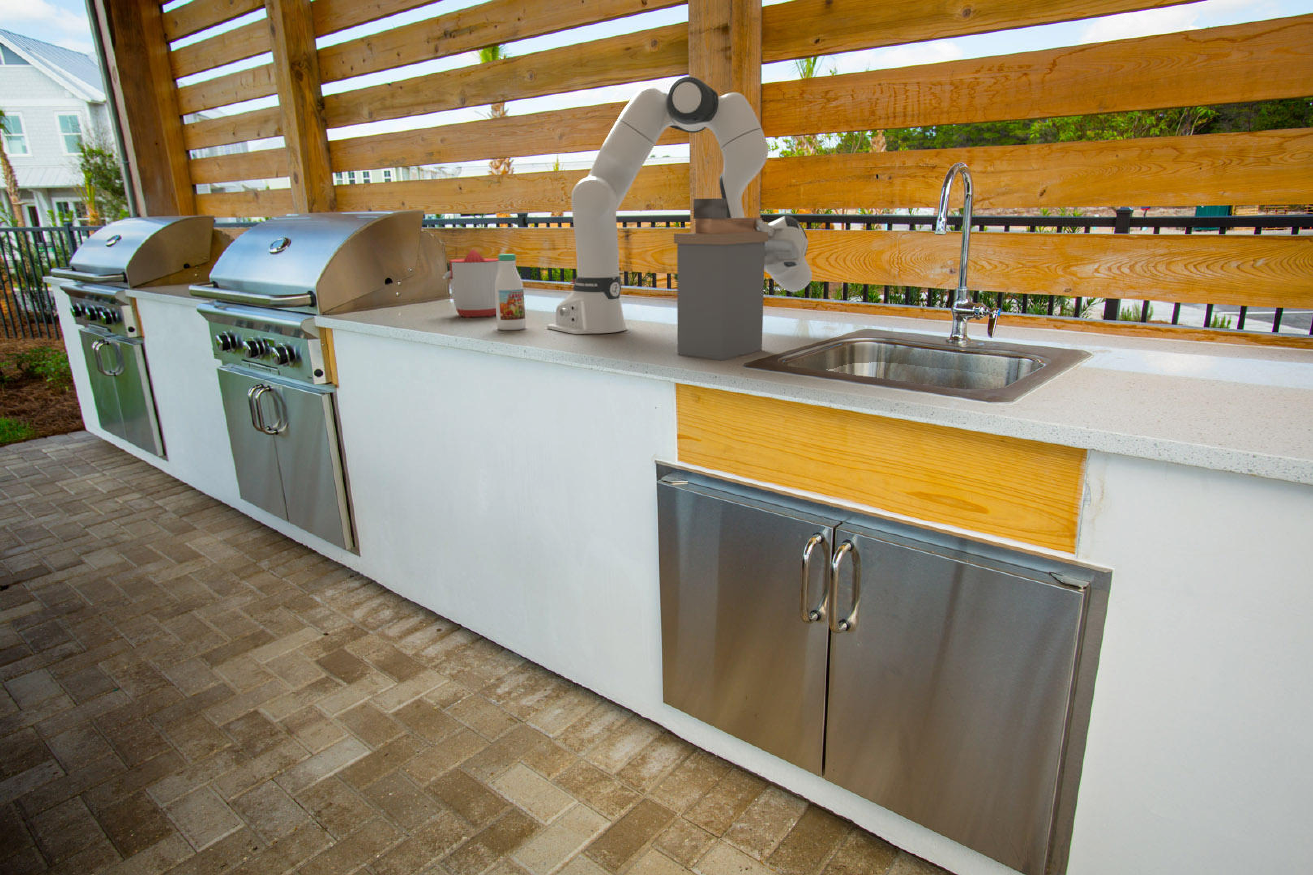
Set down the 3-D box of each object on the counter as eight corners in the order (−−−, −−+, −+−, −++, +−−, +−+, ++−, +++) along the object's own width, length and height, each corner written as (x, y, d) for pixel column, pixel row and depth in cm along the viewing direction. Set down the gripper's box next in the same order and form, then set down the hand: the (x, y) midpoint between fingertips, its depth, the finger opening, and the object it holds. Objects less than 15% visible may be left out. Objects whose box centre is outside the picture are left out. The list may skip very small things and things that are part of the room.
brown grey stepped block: (693, 233, 161) (693, 199, 159) (744, 231, 176) (745, 199, 174) (712, 234, 158) (713, 198, 156) (763, 231, 173) (764, 199, 171)
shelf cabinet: (674, 354, 170) (674, 233, 163) (717, 344, 183) (719, 231, 175) (722, 361, 162) (724, 234, 155) (764, 349, 175) (768, 232, 167)
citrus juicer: (445, 313, 243) (439, 249, 237) (500, 311, 248) (496, 247, 242) (447, 320, 228) (441, 251, 223) (506, 317, 233) (502, 250, 228)
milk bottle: (491, 330, 208) (486, 254, 203) (507, 326, 215) (502, 253, 210) (516, 331, 206) (511, 255, 200) (531, 327, 212) (526, 253, 207)
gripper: (740, 239, 189) (712, 210, 178) (814, 240, 177) (790, 209, 166) (732, 262, 188) (704, 234, 178) (807, 265, 176) (781, 236, 165)
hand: (746, 222), depth 172 cm, fingers open, 4 cm apart
